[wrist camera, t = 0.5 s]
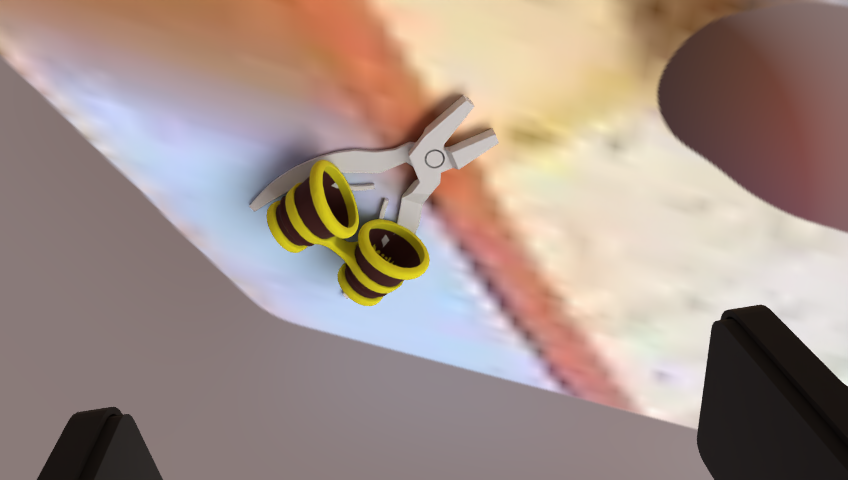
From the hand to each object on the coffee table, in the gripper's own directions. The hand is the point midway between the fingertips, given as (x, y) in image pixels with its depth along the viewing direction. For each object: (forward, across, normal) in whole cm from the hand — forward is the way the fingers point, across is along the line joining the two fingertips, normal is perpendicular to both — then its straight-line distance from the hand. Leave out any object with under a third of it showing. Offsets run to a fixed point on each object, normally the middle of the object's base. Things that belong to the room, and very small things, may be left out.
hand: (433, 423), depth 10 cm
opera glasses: (+30, +4, +11) cm, 32 cm away
